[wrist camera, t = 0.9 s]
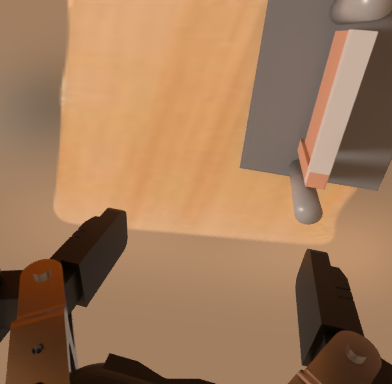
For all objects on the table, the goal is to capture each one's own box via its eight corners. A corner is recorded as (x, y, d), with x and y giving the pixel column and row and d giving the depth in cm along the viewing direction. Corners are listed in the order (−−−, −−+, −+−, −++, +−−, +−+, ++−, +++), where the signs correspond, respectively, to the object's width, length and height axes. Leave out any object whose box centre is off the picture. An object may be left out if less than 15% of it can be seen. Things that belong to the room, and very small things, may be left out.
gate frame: (275, -38, 24) (277, -79, 15) (469, -28, 22) (601, -69, 13) (240, 164, 33) (229, 210, 24) (376, 186, 30) (417, 246, 22)
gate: (329, 30, 24) (352, 29, 17) (347, 32, 24) (378, 31, 17) (297, 150, 29) (305, 186, 22) (311, 152, 29) (324, 189, 22)
